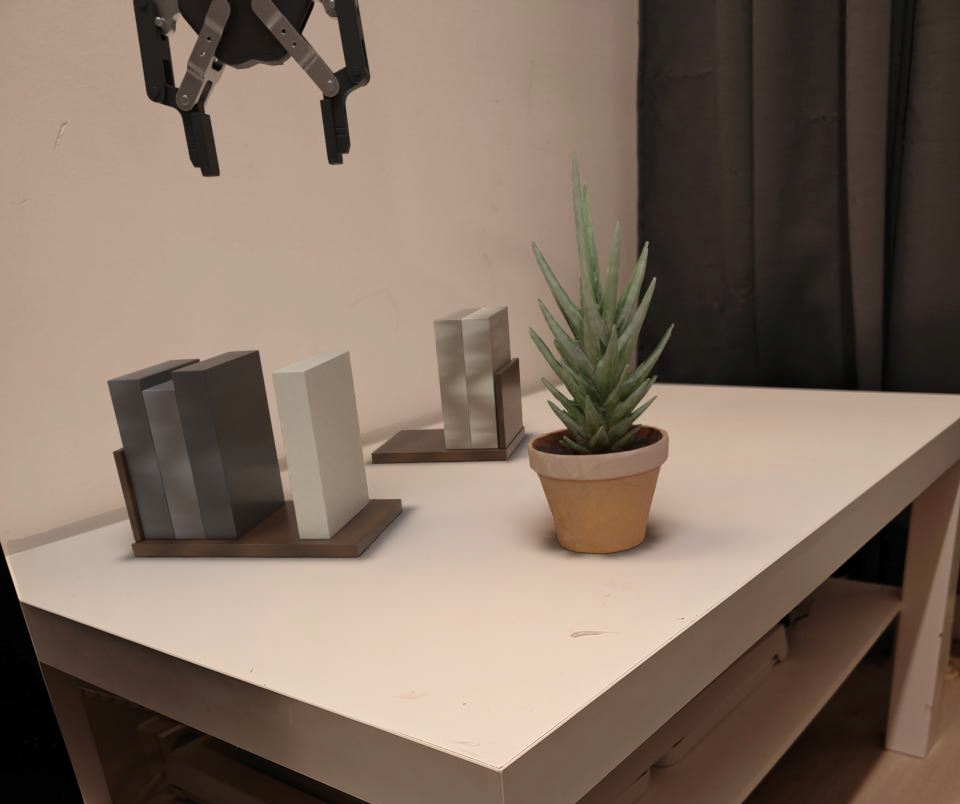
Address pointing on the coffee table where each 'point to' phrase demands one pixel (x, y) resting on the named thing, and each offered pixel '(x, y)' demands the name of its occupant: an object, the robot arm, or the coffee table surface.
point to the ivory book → (322, 442)
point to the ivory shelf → (468, 394)
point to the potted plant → (598, 402)
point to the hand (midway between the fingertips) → (273, 170)
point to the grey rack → (214, 466)
